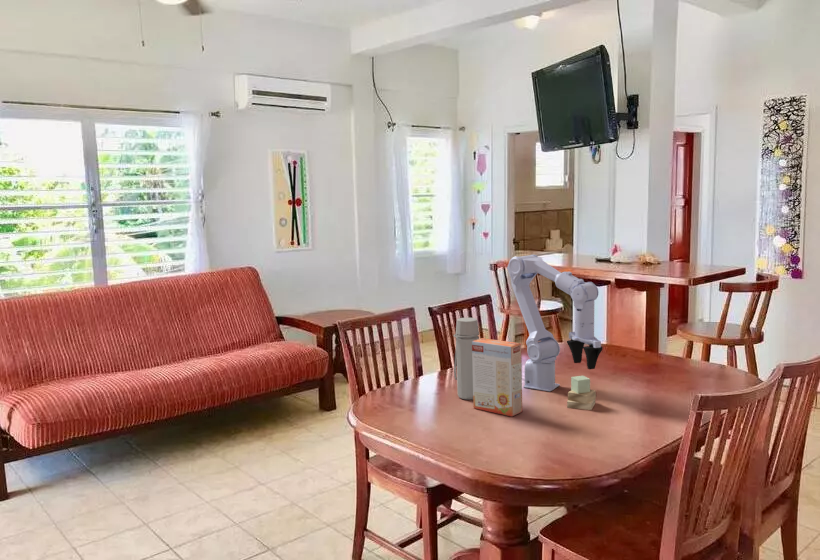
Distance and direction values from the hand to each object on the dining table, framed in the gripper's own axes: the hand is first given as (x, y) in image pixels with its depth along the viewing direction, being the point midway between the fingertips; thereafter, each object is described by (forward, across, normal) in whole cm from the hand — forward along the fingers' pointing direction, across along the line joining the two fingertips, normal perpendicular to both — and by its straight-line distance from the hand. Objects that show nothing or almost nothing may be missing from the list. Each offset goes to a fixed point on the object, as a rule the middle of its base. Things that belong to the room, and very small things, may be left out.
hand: (584, 365), depth 207 cm
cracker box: (+11, 0, -29) cm, 31 cm away
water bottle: (+11, -17, -32) cm, 38 cm away
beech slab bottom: (+11, +5, -4) cm, 13 cm away
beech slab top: (+8, +6, -4) cm, 11 cm away
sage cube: (+6, +5, -4) cm, 9 cm away
